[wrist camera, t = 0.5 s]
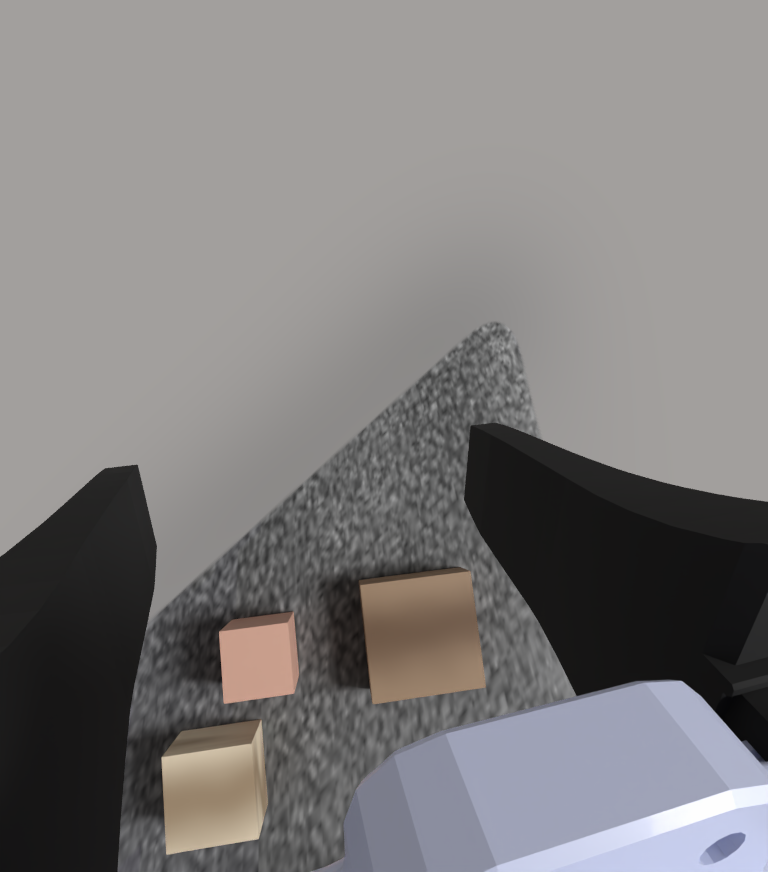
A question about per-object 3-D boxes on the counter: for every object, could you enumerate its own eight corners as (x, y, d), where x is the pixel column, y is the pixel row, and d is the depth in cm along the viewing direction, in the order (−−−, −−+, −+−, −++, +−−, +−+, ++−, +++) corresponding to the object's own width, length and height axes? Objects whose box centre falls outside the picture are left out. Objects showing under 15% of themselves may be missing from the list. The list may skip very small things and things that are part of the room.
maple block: (268, 802, 34) (258, 838, 30) (186, 815, 34) (166, 854, 30) (261, 718, 35) (251, 743, 31) (181, 730, 34) (161, 757, 31)
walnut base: (473, 673, 36) (486, 687, 33) (369, 688, 36) (372, 704, 33) (459, 567, 37) (470, 571, 34) (358, 579, 37) (360, 585, 34)
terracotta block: (299, 674, 35) (293, 693, 32) (237, 683, 35) (223, 703, 31) (293, 611, 36) (287, 622, 32) (232, 619, 36) (219, 631, 32)
